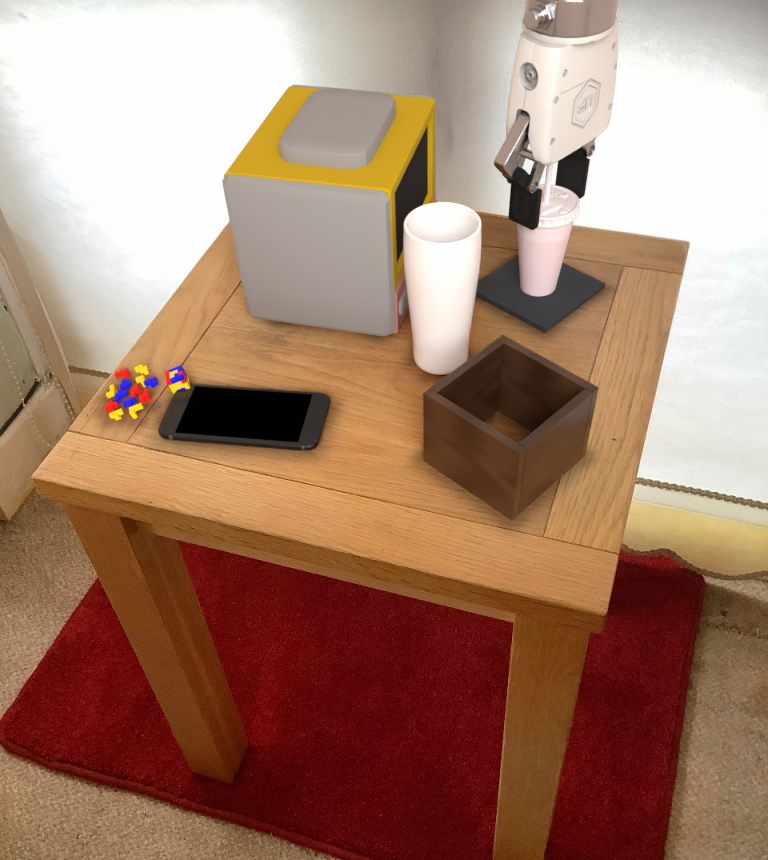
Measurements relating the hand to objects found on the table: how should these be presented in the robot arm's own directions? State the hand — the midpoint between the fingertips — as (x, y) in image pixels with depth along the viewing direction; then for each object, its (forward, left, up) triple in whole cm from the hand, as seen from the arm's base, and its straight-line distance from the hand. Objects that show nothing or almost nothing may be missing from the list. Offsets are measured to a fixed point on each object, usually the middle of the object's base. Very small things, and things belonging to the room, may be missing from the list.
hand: (546, 206), depth 84 cm
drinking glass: (0, +15, -10) cm, 18 cm away
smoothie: (0, 0, -9) cm, 9 cm away
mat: (0, 0, -10) cm, 10 cm away
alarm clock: (+15, +13, -10) cm, 22 cm away
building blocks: (+17, +38, -8) cm, 42 cm away
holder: (-13, +21, -10) cm, 27 cm away
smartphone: (+8, +33, -10) cm, 36 cm away
